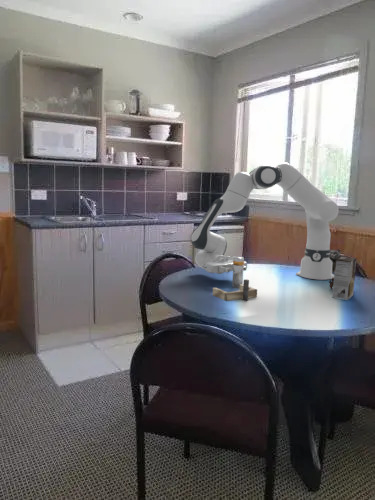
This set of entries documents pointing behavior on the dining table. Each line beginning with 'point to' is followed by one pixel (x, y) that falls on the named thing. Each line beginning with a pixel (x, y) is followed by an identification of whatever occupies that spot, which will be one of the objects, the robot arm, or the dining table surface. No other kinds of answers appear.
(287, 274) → the dining table surface
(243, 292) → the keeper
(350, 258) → the coffee box
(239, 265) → the silver metal cylinder
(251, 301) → the dining table surface
